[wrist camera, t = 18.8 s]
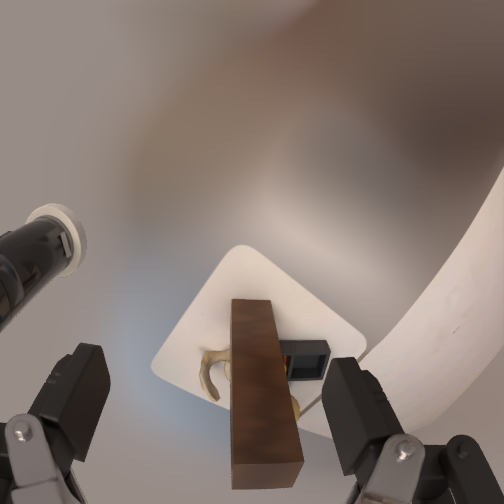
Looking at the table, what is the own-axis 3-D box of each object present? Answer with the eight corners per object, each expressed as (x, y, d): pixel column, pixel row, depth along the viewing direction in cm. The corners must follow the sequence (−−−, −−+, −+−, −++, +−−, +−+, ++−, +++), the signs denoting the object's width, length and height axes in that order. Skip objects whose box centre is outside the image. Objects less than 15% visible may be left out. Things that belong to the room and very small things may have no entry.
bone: (270, 358, 45) (248, 415, 38) (248, 365, 50) (226, 415, 43) (227, 329, 44) (199, 387, 37) (207, 338, 48) (181, 390, 41)
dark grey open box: (250, 368, 48) (251, 381, 45) (253, 339, 46) (254, 352, 43) (318, 367, 49) (322, 379, 46) (326, 339, 47) (331, 351, 44)
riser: (230, 330, 45) (231, 489, 21) (231, 298, 43) (233, 464, 19) (266, 331, 45) (292, 487, 21) (270, 300, 43) (304, 461, 19)
